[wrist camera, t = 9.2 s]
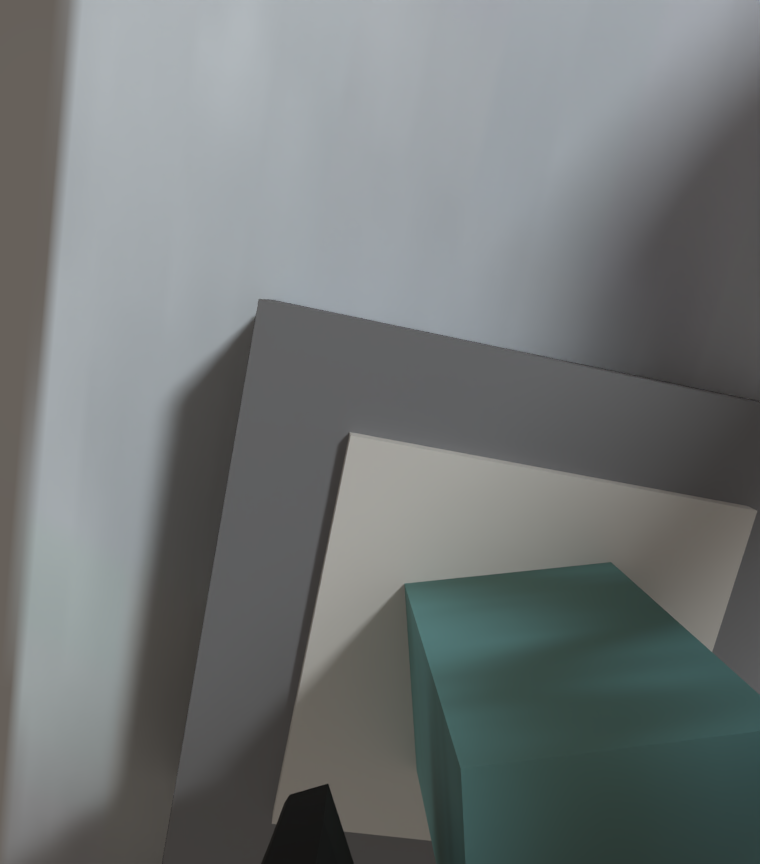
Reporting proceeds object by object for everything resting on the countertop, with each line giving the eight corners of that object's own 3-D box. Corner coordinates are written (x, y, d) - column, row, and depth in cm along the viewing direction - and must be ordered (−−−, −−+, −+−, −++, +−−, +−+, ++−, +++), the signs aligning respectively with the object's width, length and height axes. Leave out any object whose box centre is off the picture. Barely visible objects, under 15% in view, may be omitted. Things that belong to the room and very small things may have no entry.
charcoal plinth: (768, 403, 16) (883, 429, 13) (633, 832, 18) (702, 949, 15) (270, 299, 14) (256, 298, 11) (186, 781, 16) (154, 899, 13)
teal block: (610, 561, 13) (795, 725, 8) (611, 745, 13) (777, 1000, 9) (404, 583, 12) (460, 768, 7) (416, 770, 13) (474, 1048, 8)
